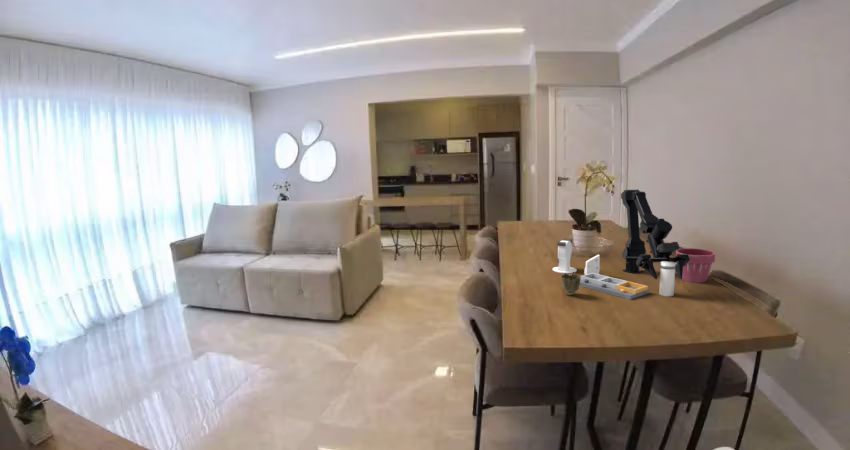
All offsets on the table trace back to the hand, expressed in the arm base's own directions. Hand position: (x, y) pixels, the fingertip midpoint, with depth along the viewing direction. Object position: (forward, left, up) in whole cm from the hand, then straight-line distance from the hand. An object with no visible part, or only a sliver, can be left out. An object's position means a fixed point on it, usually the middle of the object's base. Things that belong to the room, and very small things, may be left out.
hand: (668, 278), depth 161 cm
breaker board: (+9, -19, -7) cm, 22 cm away
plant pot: (-28, -4, -7) cm, 30 cm away
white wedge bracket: (-2, -36, -7) cm, 37 cm away
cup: (+28, -24, -7) cm, 38 cm away
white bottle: (-1, -1, -7) cm, 7 cm away
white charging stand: (0, -50, -7) cm, 51 cm away
